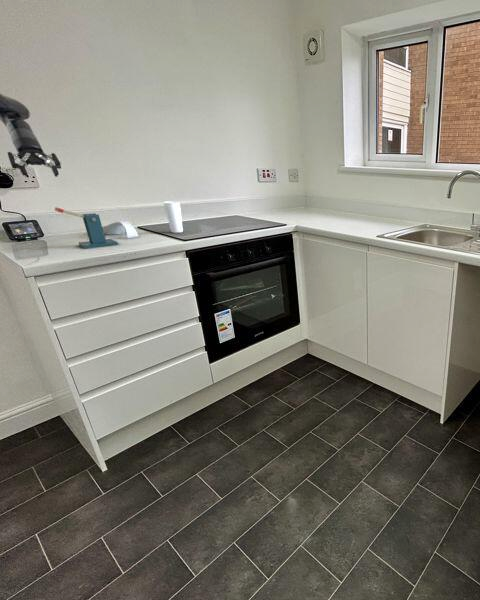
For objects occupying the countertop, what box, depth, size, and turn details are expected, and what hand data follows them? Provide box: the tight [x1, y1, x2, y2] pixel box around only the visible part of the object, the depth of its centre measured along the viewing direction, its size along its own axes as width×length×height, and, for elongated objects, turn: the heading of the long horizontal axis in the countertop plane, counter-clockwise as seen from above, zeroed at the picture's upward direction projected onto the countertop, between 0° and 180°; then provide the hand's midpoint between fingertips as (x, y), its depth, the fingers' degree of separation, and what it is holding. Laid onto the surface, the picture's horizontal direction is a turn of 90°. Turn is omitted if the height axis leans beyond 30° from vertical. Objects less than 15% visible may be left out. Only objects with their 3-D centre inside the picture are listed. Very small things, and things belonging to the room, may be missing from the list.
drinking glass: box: [163, 201, 184, 234], centre depth 177 cm, size 7×7×15 cm
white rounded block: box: [102, 220, 139, 239], centre depth 167 cm, size 24×12×7 cm, turn 61°
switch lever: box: [54, 207, 85, 219], centre depth 141 cm, size 12×6×2 cm, turn 143°
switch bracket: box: [77, 212, 119, 249], centre depth 147 cm, size 11×9×13 cm
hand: (41, 175), depth 139 cm, fingers open, 8 cm apart
